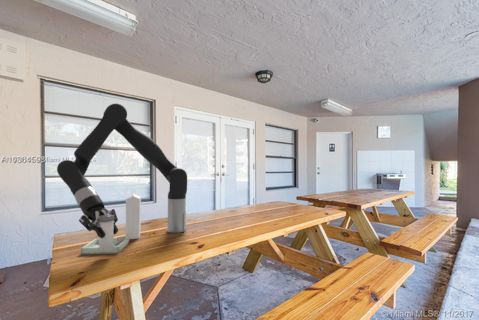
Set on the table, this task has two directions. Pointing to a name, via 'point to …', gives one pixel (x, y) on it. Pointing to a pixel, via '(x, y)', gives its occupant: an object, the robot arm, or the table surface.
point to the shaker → (107, 232)
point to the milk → (133, 216)
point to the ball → (118, 240)
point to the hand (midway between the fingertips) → (109, 234)
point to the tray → (94, 249)
